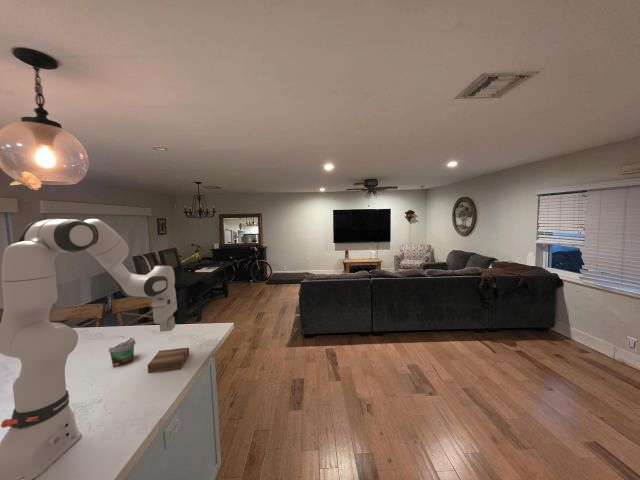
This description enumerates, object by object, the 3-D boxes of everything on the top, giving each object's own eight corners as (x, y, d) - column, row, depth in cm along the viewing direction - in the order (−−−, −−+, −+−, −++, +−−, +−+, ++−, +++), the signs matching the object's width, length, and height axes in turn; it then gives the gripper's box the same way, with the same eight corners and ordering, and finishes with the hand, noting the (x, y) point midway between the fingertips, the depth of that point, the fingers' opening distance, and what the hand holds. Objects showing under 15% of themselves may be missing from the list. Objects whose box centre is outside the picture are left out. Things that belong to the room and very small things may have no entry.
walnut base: (181, 369, 125) (180, 361, 125) (148, 373, 122) (147, 365, 122) (189, 354, 139) (189, 347, 138) (159, 358, 136) (159, 350, 136)
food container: (120, 369, 126) (118, 349, 126) (109, 368, 127) (108, 348, 127) (142, 356, 138) (141, 337, 138) (132, 355, 139) (131, 337, 139)
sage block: (171, 330, 127) (170, 320, 127) (160, 331, 126) (159, 321, 126) (175, 326, 132) (174, 316, 132) (164, 327, 131) (163, 317, 131)
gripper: (166, 292, 138) (168, 318, 139) (149, 304, 118) (151, 335, 119) (179, 291, 139) (181, 317, 140) (165, 303, 119) (167, 333, 120)
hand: (167, 325), depth 129 cm, fingers closed on sage block, 5 cm apart
